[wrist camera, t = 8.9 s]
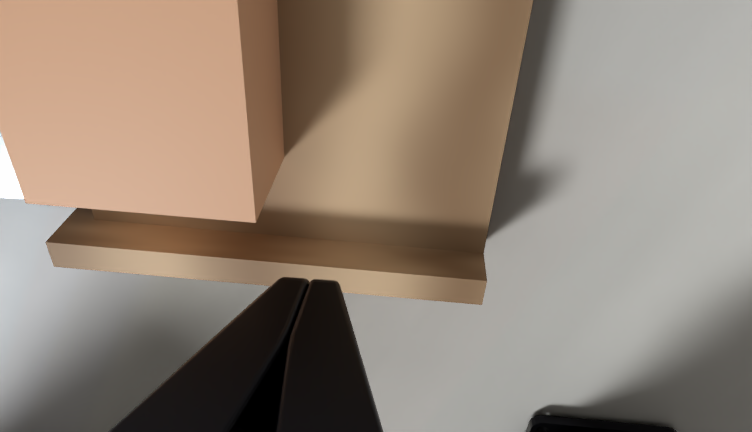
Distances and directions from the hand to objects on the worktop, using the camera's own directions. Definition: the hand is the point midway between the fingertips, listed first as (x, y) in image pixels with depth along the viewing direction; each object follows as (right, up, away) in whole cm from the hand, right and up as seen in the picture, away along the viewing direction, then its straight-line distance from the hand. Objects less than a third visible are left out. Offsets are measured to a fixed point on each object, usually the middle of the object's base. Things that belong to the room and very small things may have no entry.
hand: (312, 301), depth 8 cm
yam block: (-5, +6, +8) cm, 11 cm away
